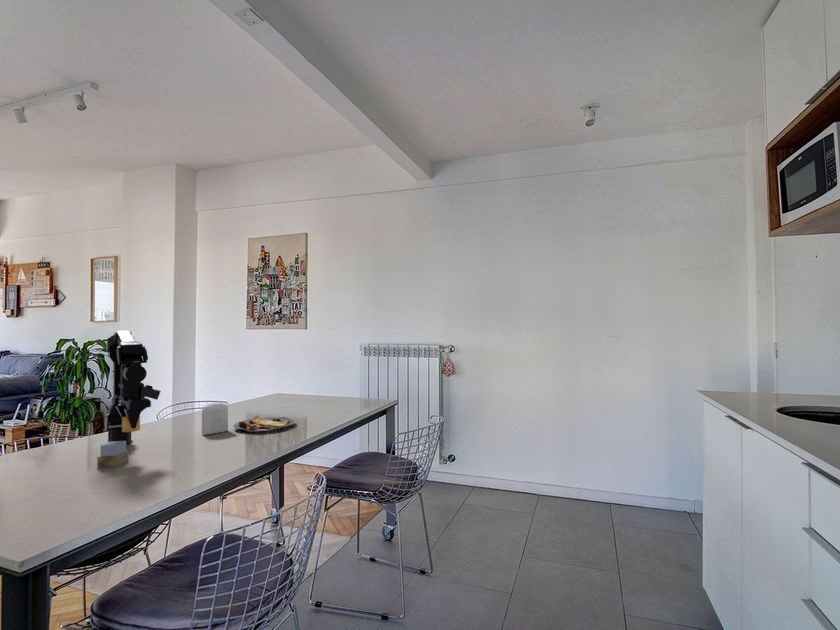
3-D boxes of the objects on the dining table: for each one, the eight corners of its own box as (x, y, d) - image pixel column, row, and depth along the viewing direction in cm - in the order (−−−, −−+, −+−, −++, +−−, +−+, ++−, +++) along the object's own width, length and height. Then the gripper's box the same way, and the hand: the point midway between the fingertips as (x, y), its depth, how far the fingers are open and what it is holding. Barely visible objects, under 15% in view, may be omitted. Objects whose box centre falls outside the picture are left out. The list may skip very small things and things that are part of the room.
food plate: (221, 431, 184) (222, 422, 185) (259, 420, 206) (260, 412, 206) (270, 437, 176) (270, 428, 176) (304, 425, 198) (304, 417, 198)
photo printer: (225, 429, 187) (225, 400, 187) (229, 431, 184) (229, 402, 184) (200, 434, 180) (200, 404, 180) (203, 436, 177) (203, 405, 177)
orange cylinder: (118, 432, 143) (118, 418, 143) (127, 428, 148) (127, 415, 148) (134, 431, 144) (134, 418, 144) (143, 428, 149) (143, 415, 149)
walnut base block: (97, 468, 139) (97, 457, 139) (109, 462, 145) (109, 451, 145) (116, 467, 139) (116, 456, 139) (128, 461, 145) (128, 451, 145)
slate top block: (100, 456, 140) (100, 445, 140) (110, 452, 144) (110, 441, 145) (117, 455, 140) (117, 444, 140) (126, 451, 145) (126, 440, 145)
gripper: (168, 379, 147) (168, 426, 146) (147, 376, 158) (147, 419, 158) (129, 383, 138) (129, 433, 138) (111, 379, 150) (111, 425, 150)
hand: (131, 427), depth 146 cm, fingers closed on orange cylinder, 5 cm apart
